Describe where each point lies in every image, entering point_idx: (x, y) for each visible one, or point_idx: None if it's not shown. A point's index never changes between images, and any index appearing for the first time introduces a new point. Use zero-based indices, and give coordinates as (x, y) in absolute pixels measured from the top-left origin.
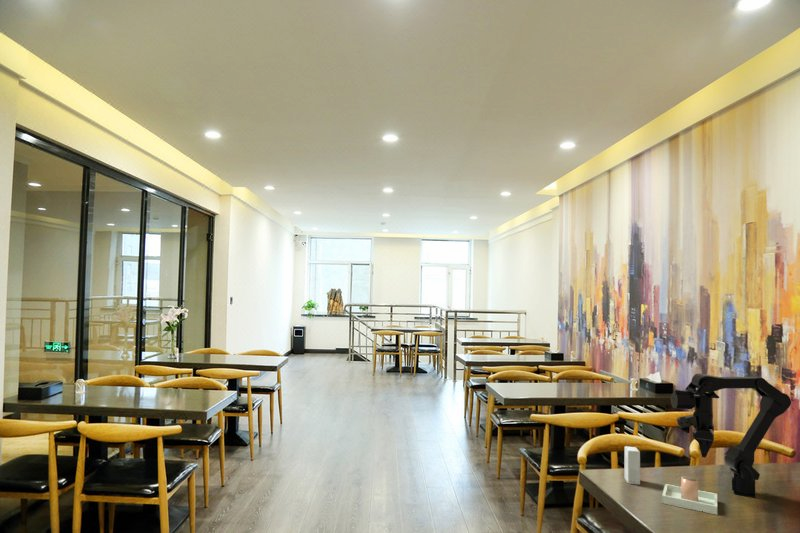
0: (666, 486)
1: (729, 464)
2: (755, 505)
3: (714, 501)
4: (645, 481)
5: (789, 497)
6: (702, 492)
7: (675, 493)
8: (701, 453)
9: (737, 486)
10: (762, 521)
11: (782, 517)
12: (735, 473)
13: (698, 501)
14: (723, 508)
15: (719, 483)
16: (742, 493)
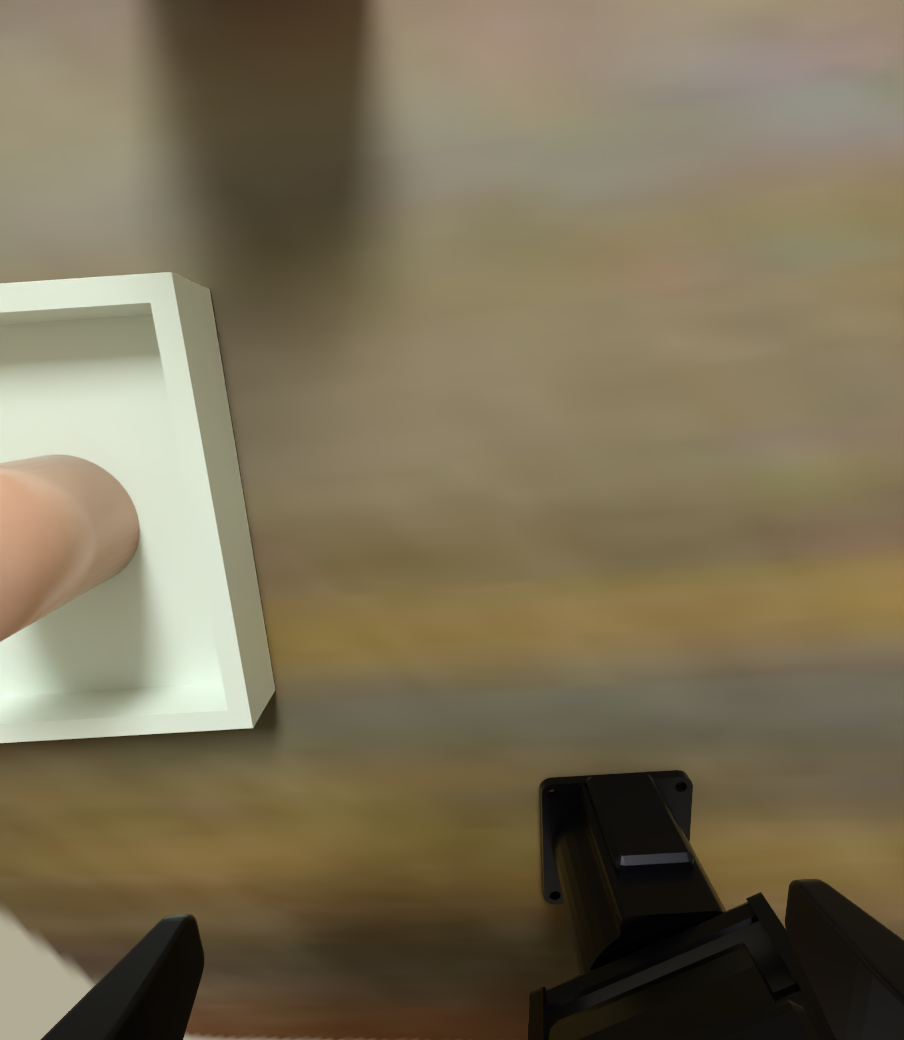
0: (87, 298)
1: (663, 1015)
2: (388, 889)
3: (27, 723)
4: (369, 34)
5: None
6: (213, 621)
7: (151, 392)
8: (70, 1012)
9: (584, 844)
10: (104, 922)
11: (274, 1001)
12: (688, 926)
13: (102, 584)
14: None
15: (763, 676)
16: (553, 835)
